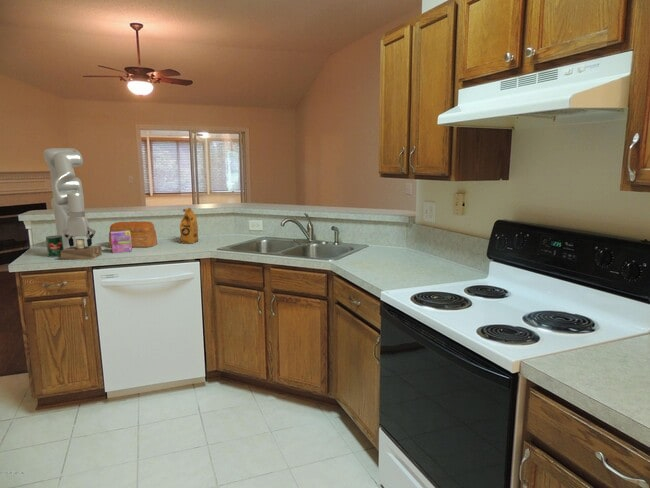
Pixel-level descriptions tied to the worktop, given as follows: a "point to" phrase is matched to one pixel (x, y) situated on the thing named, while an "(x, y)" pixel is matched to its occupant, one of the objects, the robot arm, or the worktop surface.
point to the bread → (136, 233)
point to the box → (121, 241)
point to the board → (80, 253)
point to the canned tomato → (54, 245)
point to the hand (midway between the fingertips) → (80, 246)
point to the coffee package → (189, 227)
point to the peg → (80, 244)
